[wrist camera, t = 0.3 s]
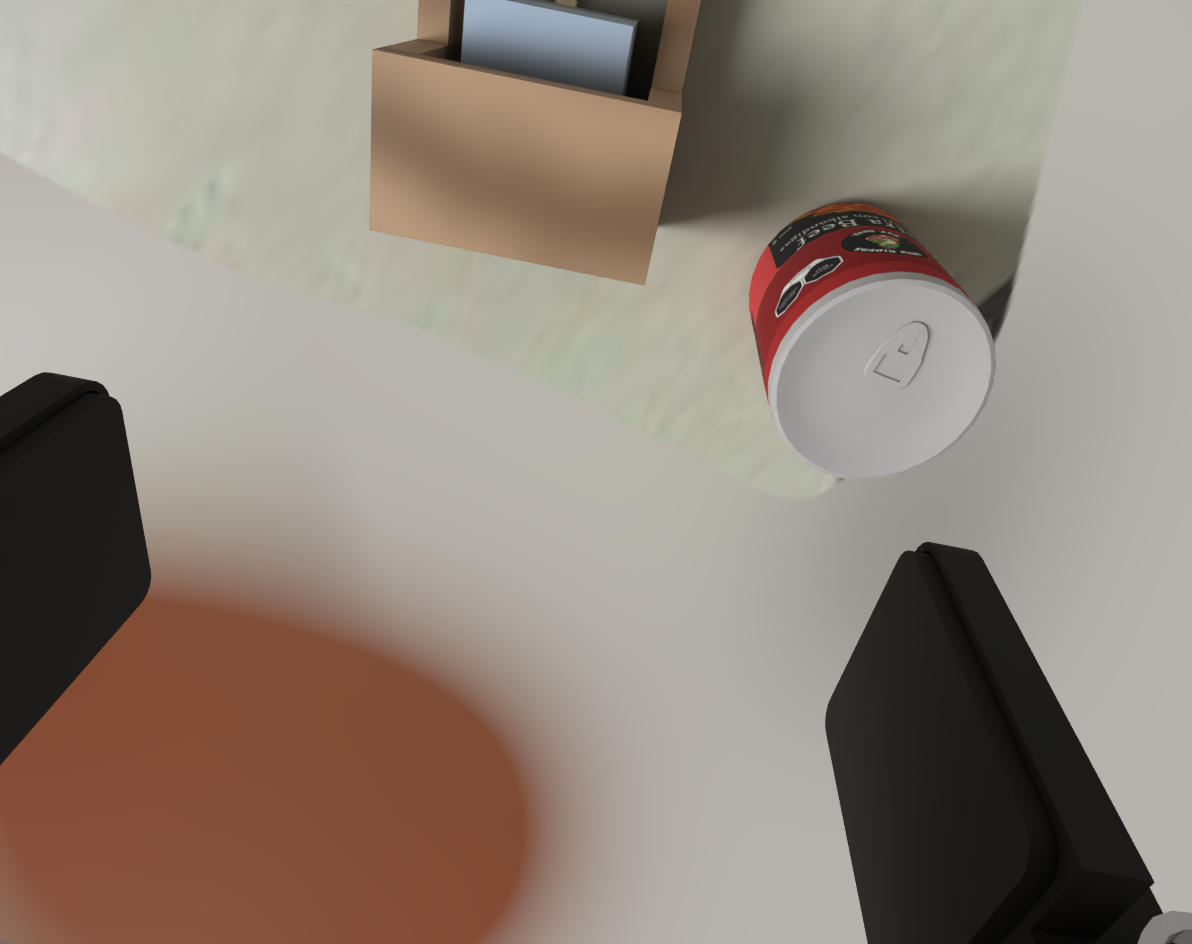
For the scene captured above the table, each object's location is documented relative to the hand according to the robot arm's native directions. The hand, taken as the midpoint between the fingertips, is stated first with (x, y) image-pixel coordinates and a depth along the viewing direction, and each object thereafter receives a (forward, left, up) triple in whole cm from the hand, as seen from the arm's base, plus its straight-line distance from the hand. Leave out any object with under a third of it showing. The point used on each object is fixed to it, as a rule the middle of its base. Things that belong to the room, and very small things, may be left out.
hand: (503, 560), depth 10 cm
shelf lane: (-3, -3, -29) cm, 30 cm away
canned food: (+4, +11, -30) cm, 32 cm away
